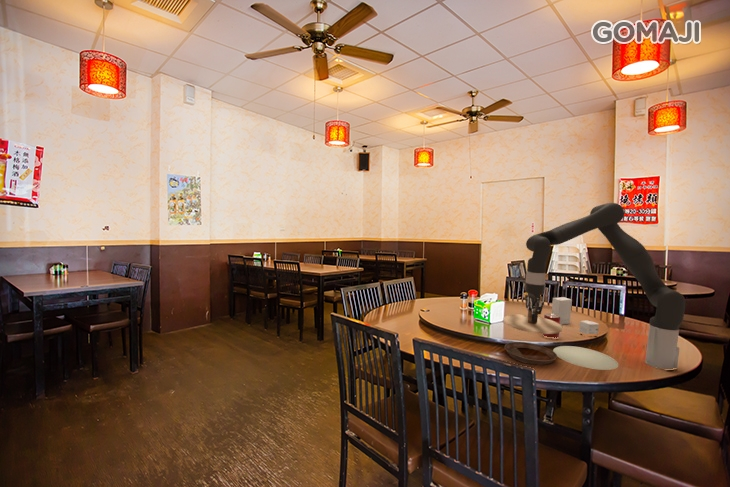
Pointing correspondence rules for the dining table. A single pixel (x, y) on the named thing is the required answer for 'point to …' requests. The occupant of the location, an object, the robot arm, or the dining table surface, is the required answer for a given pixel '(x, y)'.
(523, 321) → the lid
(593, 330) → the skincare box
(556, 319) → the soda can
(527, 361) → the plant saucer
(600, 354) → the disc
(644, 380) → the dining table surface
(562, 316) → the skincare box
